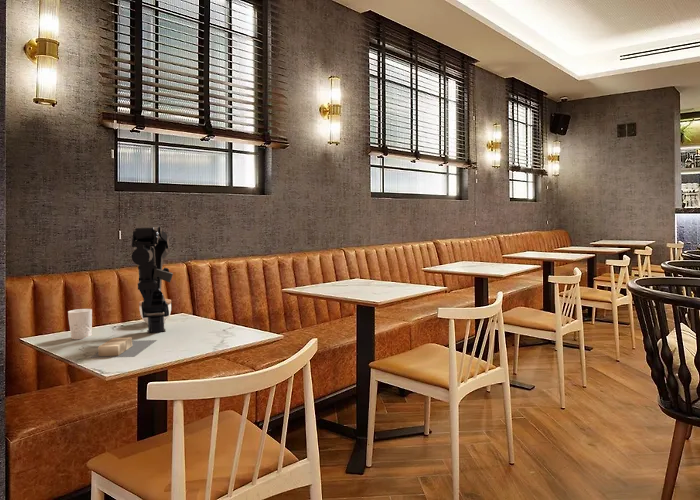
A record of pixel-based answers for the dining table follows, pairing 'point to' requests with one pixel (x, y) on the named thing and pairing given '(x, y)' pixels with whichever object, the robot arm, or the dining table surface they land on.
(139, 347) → the rubber mat
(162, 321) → the robot arm
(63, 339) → the dining table surface
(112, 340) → the birch block
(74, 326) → the white cup
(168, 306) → the lidded bowl
